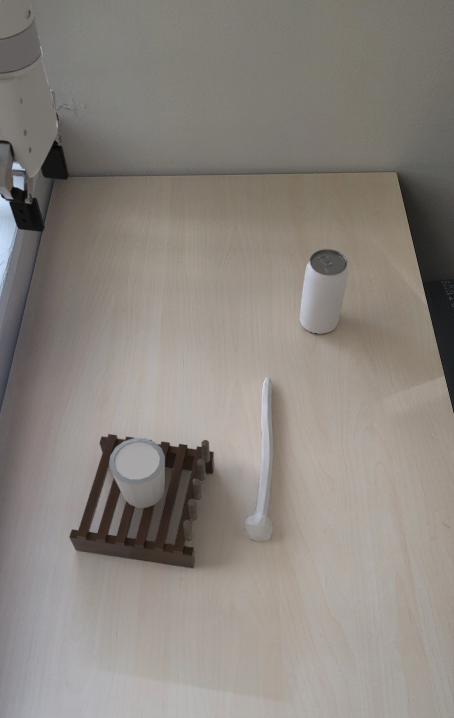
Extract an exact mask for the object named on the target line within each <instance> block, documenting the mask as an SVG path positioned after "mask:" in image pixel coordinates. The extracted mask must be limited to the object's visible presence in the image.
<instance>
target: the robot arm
mask: <svg viewBox="0 0 454 718" xmlns="http://www.w3.org/2000/svg"><path fill="white" fill-rule="evenodd" d="M43 58H44V54H43V49H42V45H41V40H40V36H39V32H38V27H37V23H36V19H35V15H34V9H33V5H32V1H31V0H0V197H1V198H2V199H3V200H4V201H6V202H8V204H9V208H10V210H11V213H12V217H13V219H14V222H15V225H16V228H17V229H18V230H22V231H31V232H39V233H40V232H41V233H43V232H44V231H45V228H46V226H45V221H44V219H43V215H42V212H41V209H40V208H41V207H40V204H39V201H38V198H37V197H34V196H33V195H34V193H33V192H34V191H33V190H34V187H33V186H34V185H33V180H34V179H33V178H34V177H35V176H36V175H37V174H39V171H41V174H42V176H43V178H45V179H52V180H54V179H55V180H63V181H66V180H68V179H69V176H70V174H69V169H68V165H67V161H66V156H65V152H64V148H63V145H62V142H63V136H62V133H61V132H60V131H59V121H60V118H59V115H58V113H57V107H56V106H57V105H56V93H55V90H52V89H51V87H50V83H49V80H48V76H47V73H46V69H45V66H44V63H43ZM14 164H17V165H19V166H20V167H21V169H14V168H13V166H14ZM14 177H17V178H23V189H22V188H20V187H18V186H17V187H16V186H14Z"/></svg>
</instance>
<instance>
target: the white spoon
mask: <svg viewBox="0 0 454 718" xmlns="http://www.w3.org/2000/svg"><path fill="white" fill-rule="evenodd" d="M272 382H273V381H272V379H271V378H270V377H268V376H267V377H265V378H264V381H263V383H262V385H261V386H262V388H261V409H260V410H261V411H260V434H261V456H260V457H261V459H260V460H261V461H260V470H259V471H260V472H259V481H258V482H259V483H258V491H257V492H258V494H257V500H256V506H255V511H254V513H253V514H251V515H249V516H248V517H246V518H245V520H244V521H243V523H242V526H243V531H244V532H245V534H246V536H247V537H248V538H249V539H250V540H252V541H255V542H264V541H268V540H270V539H271V537H272V535H273V532H274V528H273V522H272V521H271V519H270V518H269V517H268V515H269V509H270V500H271V492H272V477H273V467H274V459H275V455H274V454H275V453H274V438H273V437H274V436H273V435H274V434H273V433H274V432H273V410H272V409H273V408H272V403H273V402H272V400H273V399H272V398H273V383H272Z"/></svg>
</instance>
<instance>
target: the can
mask: <svg viewBox="0 0 454 718" xmlns="http://www.w3.org/2000/svg"><path fill="white" fill-rule="evenodd" d="M348 276H349V267H348V260H347V257H346V256H345V255H344V253H342V252H340V251H338V250H336V249H331V248H324V249H323V248H322V249H318V250H316V251H315V252H313V253H312V254H311V255H310V258H309V261H308V262H307V264H306V266H305V270H304V277H303V285H302V293H301V301H300V307H299V316H298V319H299V323H300V325H301V327H302V328H303V329H304V330H306V331H307V330H308V331H307V332H308V333H311V332H312V333H311V334H315V333H317V334H316V335H324V333H325V334H327V333H330V332H332V331H333V330H335V329H336V328H337V326H338V324H339V321H340V320H339V319H340V316H341V312H342V311H341V310H342V307H343V301H344V297H345V292H346V286H347V282H348Z"/></svg>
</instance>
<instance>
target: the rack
mask: <svg viewBox="0 0 454 718" xmlns="http://www.w3.org/2000/svg"><path fill="white" fill-rule="evenodd" d="M133 438H135V437H133V436H125V439H123V438H118V435H117V434H113V433H112V434H111V433H108V435H107V436H101V437H100V440H99V446H100V449H101V453H102V454H101V456H100V460H99V463H98V466H97V469H96V472H95V476H94V479H93V483H92V484H91V485H92V486H91V489H90V492H89V495H88V498H87V501H86V505H85V507H84V510H83V514H82V517H81V521H80V524H79V527H78V529H74V528H73V529H71V530H70V534H69V535H68V536H69V540H70V542H71V544H72V546H73V548H74V550H75V551H76V552H77V551H78V552H85V553H90V554H97V555H104V556H109V557H110V556H111V557H117V558H123V559H130V560H136V561H142V562H149V563H157V564H161V565H169V566H175V567H181V568H188V569H194V568H195V567H194V566H195V563H196V559H195V549H194V547H193V546H186V542H192V541H193V540H194V535H193V533H194V532H193V526H192V524H193V523H192V521H193V522H195V521H196V520H197V519H198V507H197V502H199V501H201V500H202V498H203V497H202V496H203V495H202V482H205V481H206V479H207V475H206V474H210V475H214V471H215V452H214V451H212V450H210V441H209V440H207V439H203V440H201V443H200V444H201V446H200V445H199V446H196V448H190V447H188V444H183V443H178V446H174V445H171V443H170V442H169V441H163V440H162V441H160V443H156V444H157V445H158V446H159V447H161V448H162V451H163V453H164V456H165V469H166V468H167V469H172V470H171V475H170V480H169V483H168V487H167V491H166V495H165V500H164V504H163V508H162V512H161V516H160V520H159V523H158V528H157V531H156V536H155V541H153V540H148V535H149V531H150V527H151V523H152V519H153V515H154V511H155V507H156V504H155V505H153V506H150V507H146V508H143V509H142V514H141V517H140V521H139V525H138V529H137V532H136V537H135V538H134V537H128V536H129V531H130V529H131V525H132V520H133V517H134V513H135V509H136V507H135V506H132V505H130V504H129V503H128V502H127V501H126V500H125V503H124V508H123V511H122V515H121V518H120V522H119V525H118V529H117V532H116V535H113V534H110V530H111V526H112V523H113V520H114V517H115V516H114V515H115V512H116V508H117V505H118V502H119V498H120V495H121V491H120V489H119V487H118V485H117V483H116V481H115V478H114V477H113V479H112V483H111V486H110V490H109V493H108V496H107V499H106V502H105V506H104V509H103V513H102V516H101V519H100V523H99V525H98V526H99V527H98V529H97V532H94V531H90V530H91V527H92V523H93V522H94V521H93V520H94V517H95V514H96V511H97V508H98V505H99V501H100V497H101V496H102V495H101V494H102V492H103V488H104V484H105V482H106V478H107V475H108V471H109V468H110V466H109V462H110V455H111V454H112V452H113V451H114V449H115V448H116V447H117V446H118V445H120V444H121V443H122V442H124V441H127V440H130V439H133ZM150 440H151V441H153V440H152V439H150ZM183 471H189V472H190V475H189V479H188V483H187V488H186V492H185V495H184V496H185V497H184V501H183V506H182V510H181V513H180V514H181V515H180V519H179V523H178V527H177V531H176V536H175V541H174V543H173V544H172V543H168V542H167V538H168V535H169V534H168V533H169V530H170V525H171V521H172V517H173V513H174V509H175V505H176V499H177V496H178V491H179V487H180V483H181V478H182V474H183ZM166 542H167V543H166Z"/></svg>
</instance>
